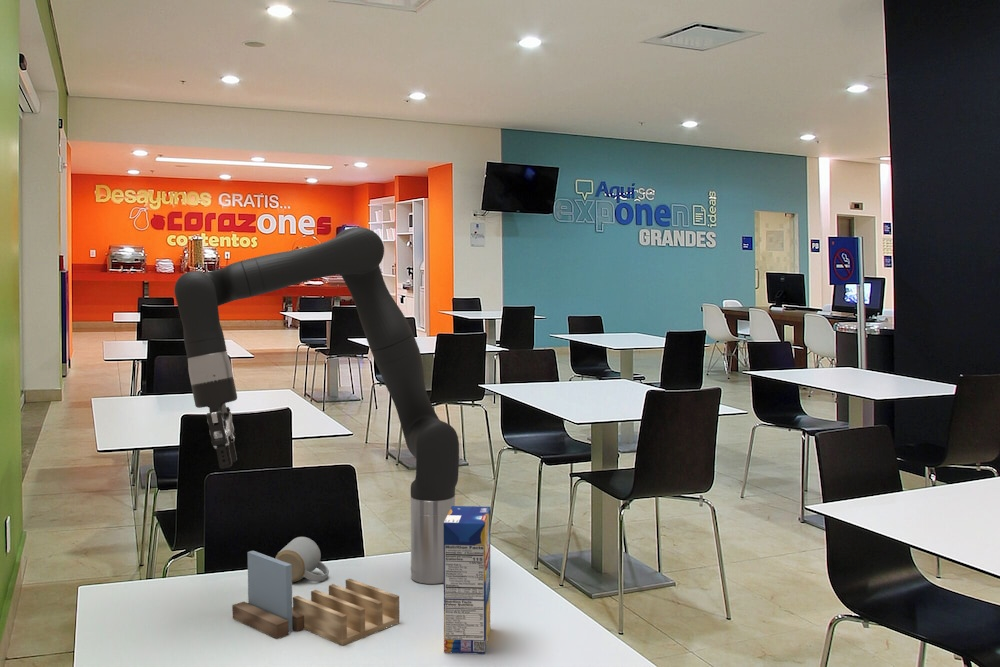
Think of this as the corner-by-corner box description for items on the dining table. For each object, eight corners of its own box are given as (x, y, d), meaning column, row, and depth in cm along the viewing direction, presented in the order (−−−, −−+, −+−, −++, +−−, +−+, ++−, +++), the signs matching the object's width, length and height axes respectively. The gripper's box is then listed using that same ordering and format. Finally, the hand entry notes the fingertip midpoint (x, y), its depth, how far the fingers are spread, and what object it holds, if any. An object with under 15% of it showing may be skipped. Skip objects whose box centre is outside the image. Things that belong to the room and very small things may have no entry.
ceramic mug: (270, 583, 177) (270, 546, 177) (287, 570, 185) (287, 534, 185) (319, 587, 175) (319, 550, 175) (334, 574, 183) (334, 538, 183)
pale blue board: (248, 615, 160) (247, 552, 159) (254, 613, 161) (253, 550, 160) (286, 633, 152) (285, 566, 151) (292, 631, 153) (291, 564, 152)
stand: (232, 618, 159) (232, 605, 158) (263, 608, 163) (263, 595, 163) (277, 639, 149) (276, 624, 149) (308, 627, 154) (308, 613, 154)
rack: (293, 624, 156) (292, 597, 155) (350, 604, 166) (349, 578, 165) (342, 645, 147) (342, 616, 146) (399, 623, 156) (399, 595, 156)
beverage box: (443, 653, 144) (443, 522, 142) (452, 626, 155) (452, 505, 153) (484, 654, 143) (484, 523, 142) (490, 628, 154) (490, 506, 153)
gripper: (228, 375, 154) (246, 465, 154) (236, 374, 167) (252, 456, 168) (184, 384, 152) (202, 474, 152) (196, 382, 166) (213, 464, 166)
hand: (229, 465), depth 160 cm, fingers open, 8 cm apart
